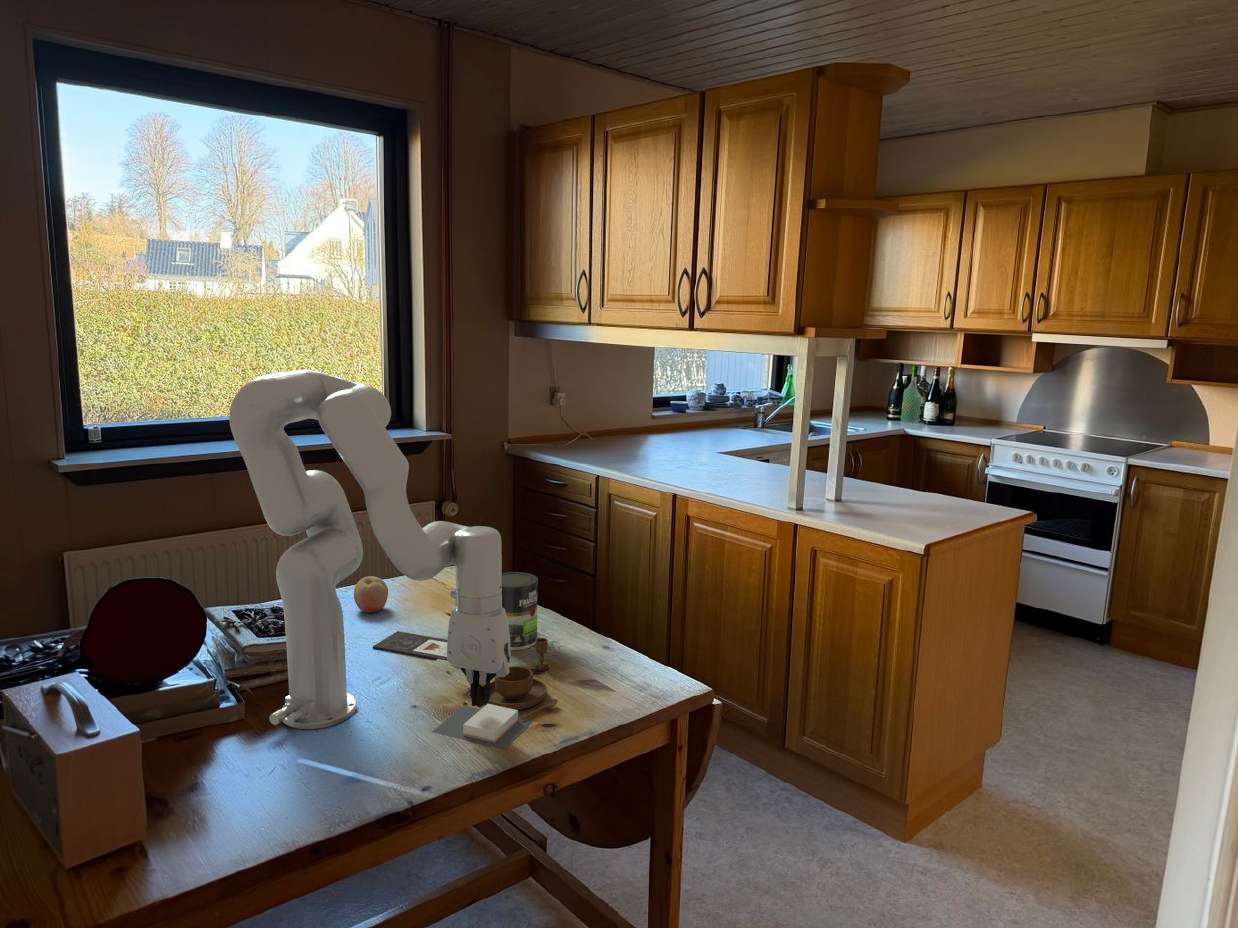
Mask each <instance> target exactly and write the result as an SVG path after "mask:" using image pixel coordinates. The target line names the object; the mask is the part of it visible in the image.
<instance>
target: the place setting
mask: <svg viewBox="0 0 1238 928" xmlns="http://www.w3.org/2000/svg"><path fill="white" fill-rule="evenodd" d="M548 645H549V644H548V638H545V637H537V639H536V640H535V645H534V647H535V651H536V653H537V654H539V659H538V662H539V663H540V664H538V665H535V667H534V669H535V670H536V671H538V672H539V671H540V672H541V671H543V672H544V671H547V670H549V668H550V666H549V665H548V664H546V663H545V658H544V657H545V654H546V653H547V651H548ZM509 671H510V673H509V674H508V675H507V676H505V677H494V680H492V681H490V699H489V701H488V702H487V703H486V705H487V704H492V705H496V706H501V707H505V708H510V709H514V710H518V711H520V710H525V709H529V708H531V707H534V706H536V705H538V704H539V703H541V702H542V701H543V700H544V699H545V697H546V695H547V694H548V693H547V692H548V687H547V685H546V684H545V683H544V682H543V681H541V680H540V679H537V678H534V673H533V671H532V670H531V669H530V668H528V667H524V666H509ZM557 703H558V699H556V698H555V699H551V700H548V701H545V702H544V703H543V704H542V706H540V707H538V708H537V709H534V710H532V711H530V712H529V713H527V714H524V715H523V716H521V717H519V718H520V719H526V718H527V717H529V716H531V715H533V714H535V713H537V712H539V711H541V710H542V709H549V708H552V707H554V706H555V705H557Z"/></svg>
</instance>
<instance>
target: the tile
mask: <svg viewBox="0 0 1238 928" xmlns="http://www.w3.org/2000/svg"><path fill="white" fill-rule="evenodd" d="M480 709H481V710H480V711H479V712H477V713H476V714H475V715H474V716H473V717H471V718H470V719H469V720H468V721H467V722H466V723H464V724H463V735H464V736H468V737H472V738H476V739H480V740H484V741H489V742H493V743H495V742H496V741H497V740H498V739H500V738H501V737H502V736H503V735H504V734H505V733H506V732H507V731H508V730H509V729H510V728H511V727H512V726H513V725H514V724H515V723H516V722H517V721H518V718H519V710H514V709H510V708H505V707H501V706H496V705H492V704H487V703H486V705H485V706H484V705H483V706H482V707H481V708H480Z"/></svg>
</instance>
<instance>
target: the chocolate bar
mask: <svg viewBox="0 0 1238 928" xmlns="http://www.w3.org/2000/svg"><path fill="white" fill-rule="evenodd" d="M372 650H378V651H382V652H388V653H392V654H393V653H394V654H400V655H403V656H411V657H416V658H421V659H427V660H432V661H437V660H441V661H445V662H446V661H447V662H448V659H447V639H445V638H441V637H440V638H439V637H434V636H429V635H422V634H416V633H410V632H406V631H405V632H404V631H399V630H397V631H396V632H394V633H392V634H391V635H389V636H387V637H386V638H384V639H382V640H380V641H379V642H377V643H376V644H374V645H373V646H372Z"/></svg>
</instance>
